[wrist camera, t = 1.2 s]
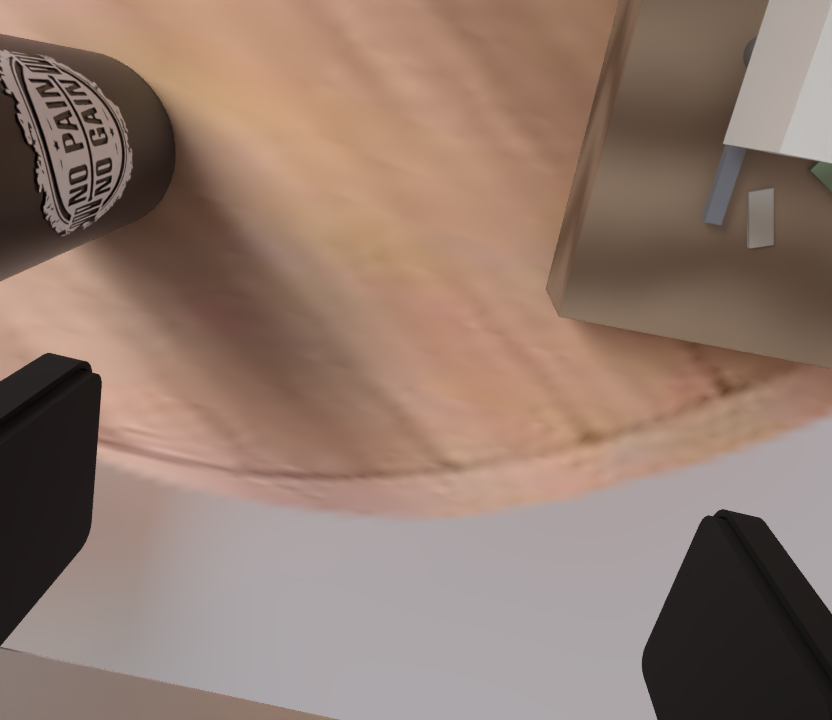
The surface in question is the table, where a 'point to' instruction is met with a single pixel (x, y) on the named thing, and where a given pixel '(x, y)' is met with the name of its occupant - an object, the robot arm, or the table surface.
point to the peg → (780, 95)
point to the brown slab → (692, 198)
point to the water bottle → (74, 150)
